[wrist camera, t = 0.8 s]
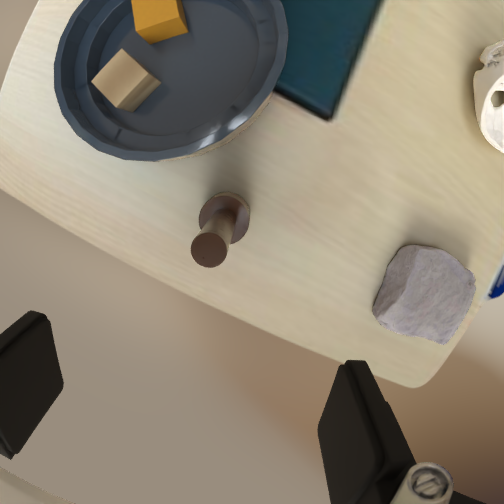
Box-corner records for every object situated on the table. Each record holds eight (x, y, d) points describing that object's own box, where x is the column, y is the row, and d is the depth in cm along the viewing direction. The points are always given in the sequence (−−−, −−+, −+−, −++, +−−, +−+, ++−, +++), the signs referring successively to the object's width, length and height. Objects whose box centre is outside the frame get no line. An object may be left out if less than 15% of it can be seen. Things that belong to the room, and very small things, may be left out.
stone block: (393, 232, 32) (363, 318, 33) (416, 236, 28) (382, 333, 28) (462, 263, 34) (436, 337, 34) (486, 269, 29) (457, 350, 30)
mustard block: (144, 14, 24) (130, -1, 20) (182, 2, 23) (172, -16, 19) (149, 44, 25) (135, 31, 21) (188, 32, 24) (179, 16, 20)
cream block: (109, 88, 26) (90, 81, 22) (137, 59, 25) (121, 48, 21) (132, 112, 27) (115, 107, 23) (161, 83, 26) (148, 73, 22)
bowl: (106, -13, 23) (84, -34, 17) (292, -15, 23) (298, -45, 17) (73, 156, 29) (41, 158, 23) (267, 170, 29) (270, 173, 23)
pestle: (206, 189, 30) (175, 210, 18) (252, 195, 30) (249, 218, 18) (202, 234, 31) (171, 279, 19) (246, 239, 31) (240, 288, 20)
